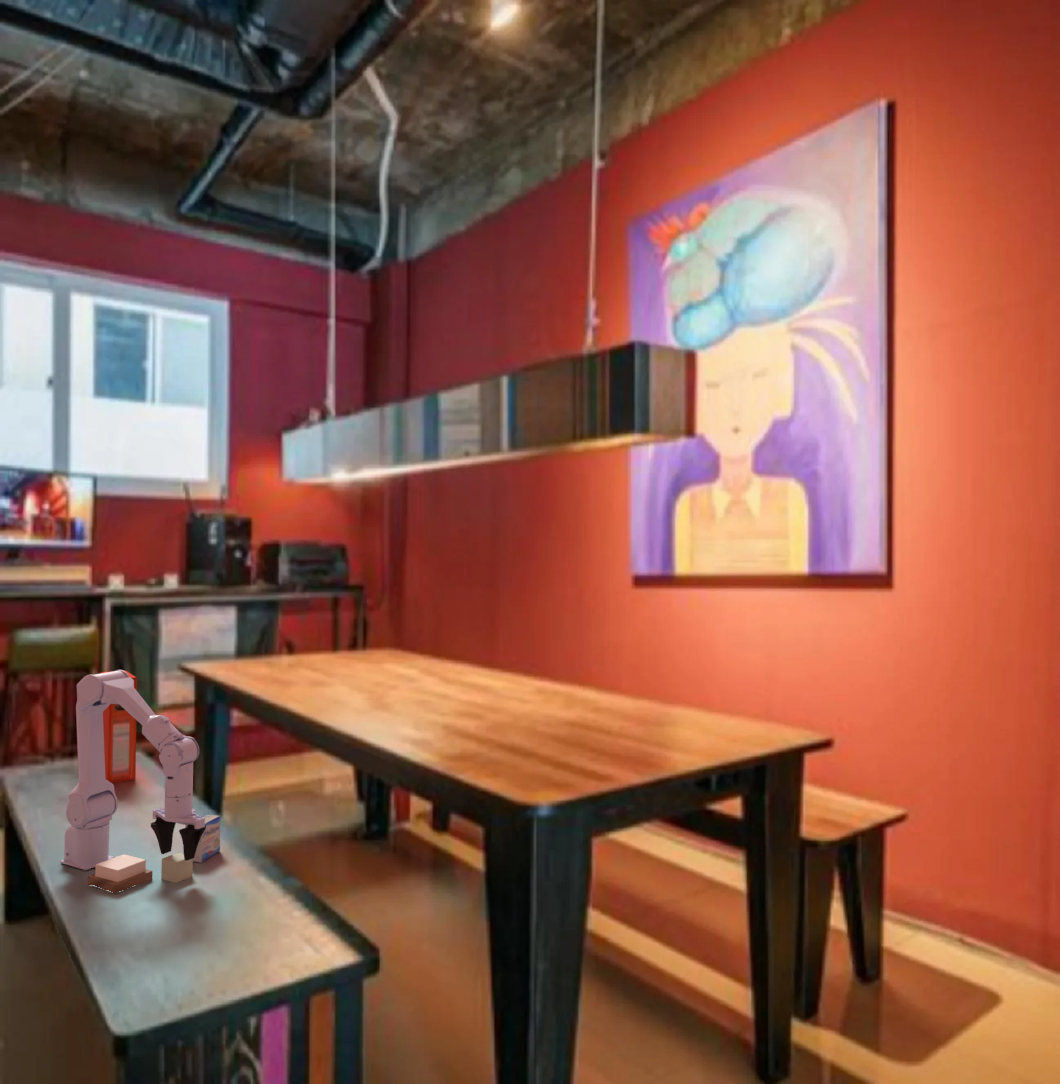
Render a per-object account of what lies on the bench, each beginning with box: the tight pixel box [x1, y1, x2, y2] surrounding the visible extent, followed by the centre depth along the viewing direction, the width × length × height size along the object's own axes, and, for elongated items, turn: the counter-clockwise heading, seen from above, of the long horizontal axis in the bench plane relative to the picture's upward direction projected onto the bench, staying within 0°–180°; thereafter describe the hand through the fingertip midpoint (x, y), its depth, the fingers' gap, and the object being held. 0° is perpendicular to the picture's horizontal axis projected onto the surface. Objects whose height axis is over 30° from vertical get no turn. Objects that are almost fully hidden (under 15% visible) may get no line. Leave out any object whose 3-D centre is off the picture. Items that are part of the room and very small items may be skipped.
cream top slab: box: [94, 853, 147, 882], centre depth 182 cm, size 7×7×2 cm
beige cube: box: [160, 852, 194, 884], centre depth 185 cm, size 4×4×4 cm
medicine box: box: [184, 814, 222, 863], centre depth 198 cm, size 8×4×9 cm, turn 168°
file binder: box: [99, 670, 138, 784], centre depth 266 cm, size 8×17×32 cm, turn 36°
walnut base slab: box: [87, 869, 153, 894], centre depth 182 cm, size 9×9×2 cm
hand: (177, 855), depth 185 cm, fingers open, 7 cm apart
